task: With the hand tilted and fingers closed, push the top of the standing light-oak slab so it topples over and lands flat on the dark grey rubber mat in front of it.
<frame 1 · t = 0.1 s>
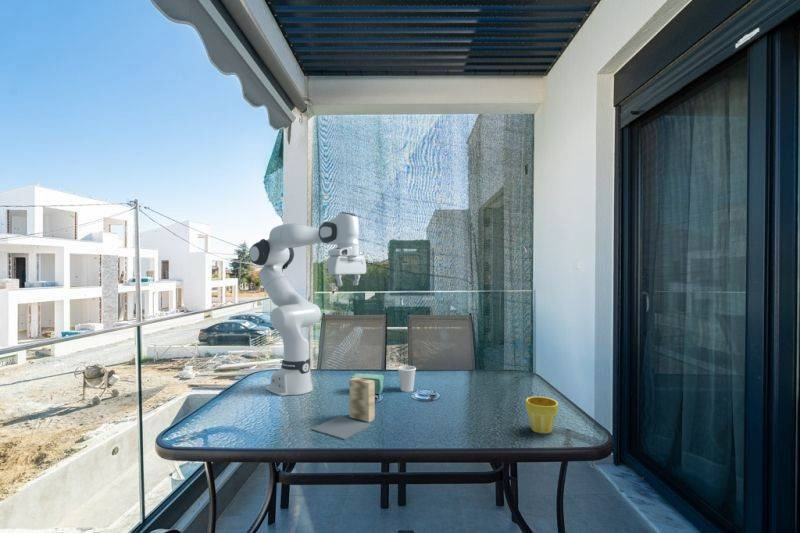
hand: (348, 285, 168), 48 cm above the table, tool pointing down, fingers open, 8 cm apart
plant pot: (541, 430, 139), on the table
mat: (341, 427, 142), on the table
box: (367, 392, 183), on the table
dixie cup: (406, 390, 185), on the table
oak slab: (362, 418, 151), on the table
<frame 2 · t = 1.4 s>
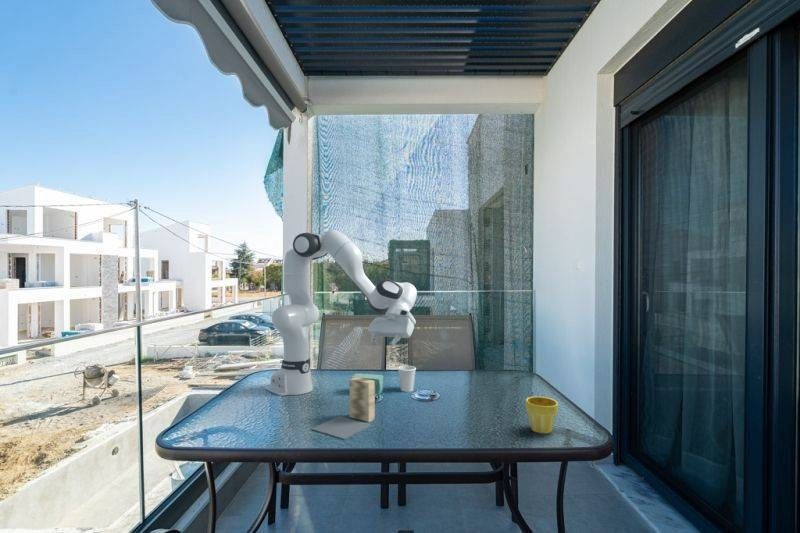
hand: (382, 344, 162), 25 cm above the table, tool tilted 45°, fingers open, 8 cm apart
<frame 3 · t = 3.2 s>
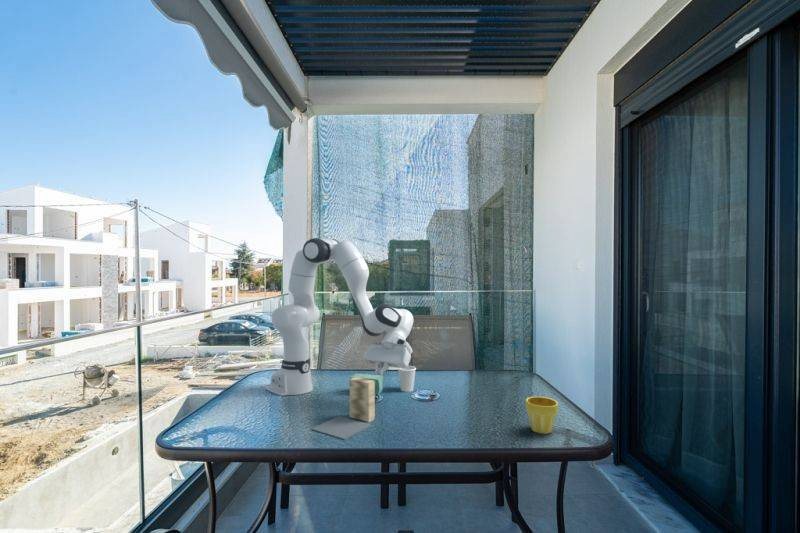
hand: (378, 373, 159), 14 cm above the table, tool tilted 45°, fingers closed
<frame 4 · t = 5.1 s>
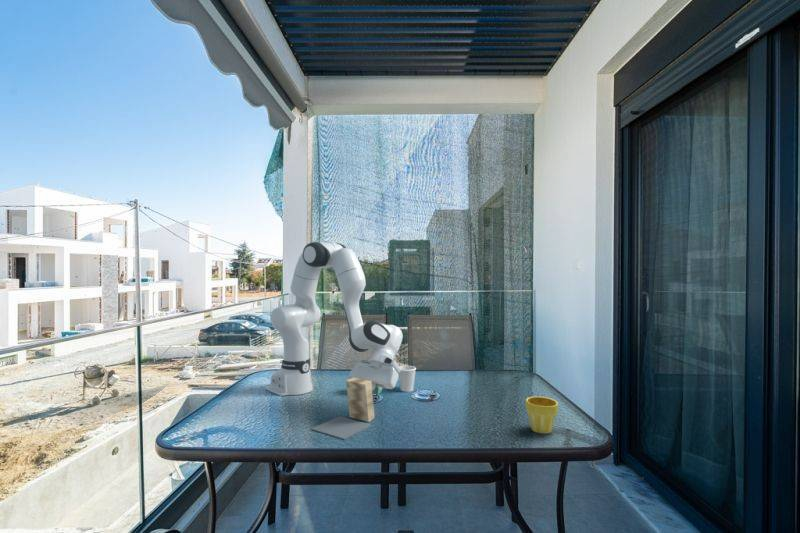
hand: (364, 394, 152), 8 cm above the table, tool tilted 45°, fingers closed
oak slab: (362, 417, 151), on the table, tilted 8°
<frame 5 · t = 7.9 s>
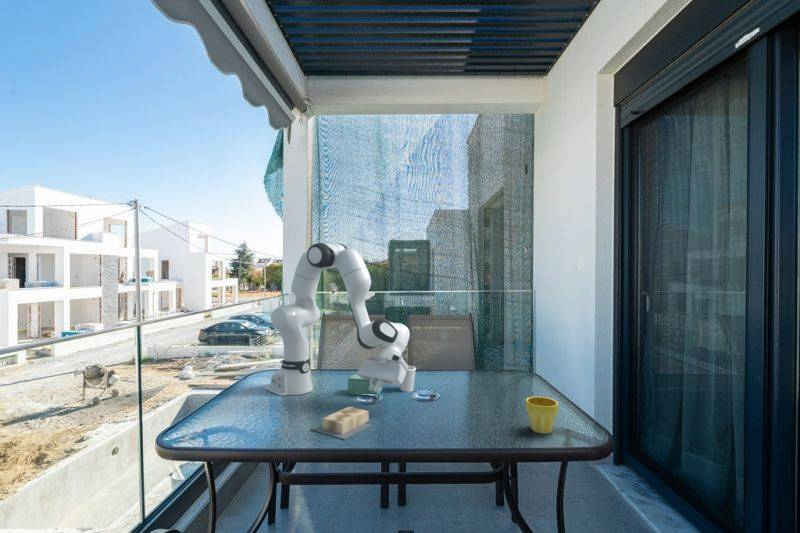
hand: (372, 390, 156), 8 cm above the table, tool tilted 45°, fingers closed
oak slab: (359, 413, 150), point 2 cm above the table, tilted 90°, touching mat
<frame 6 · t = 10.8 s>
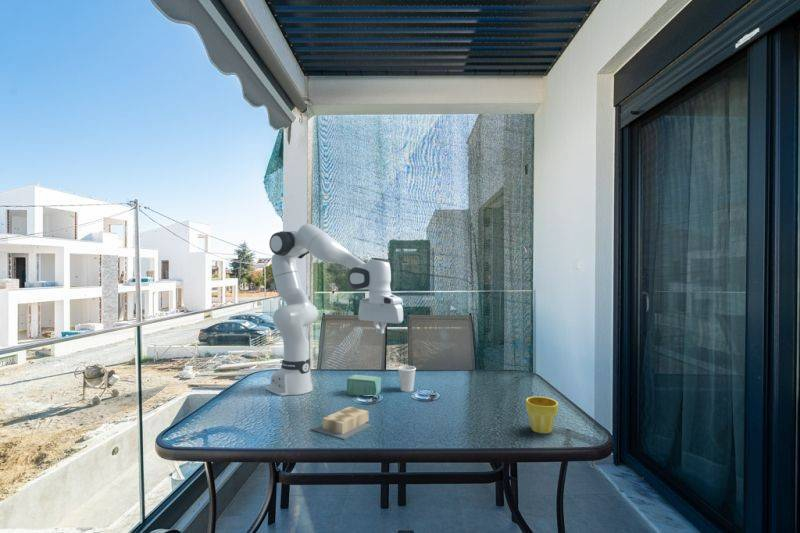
hand: (380, 333, 164), 29 cm above the table, tool pointing down, fingers closed
at the end: oak slab tilted 90°; oak slab inside the target area (0.7 cm from its centre), point 2.1 cm above the table; oak slab touching mat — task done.
